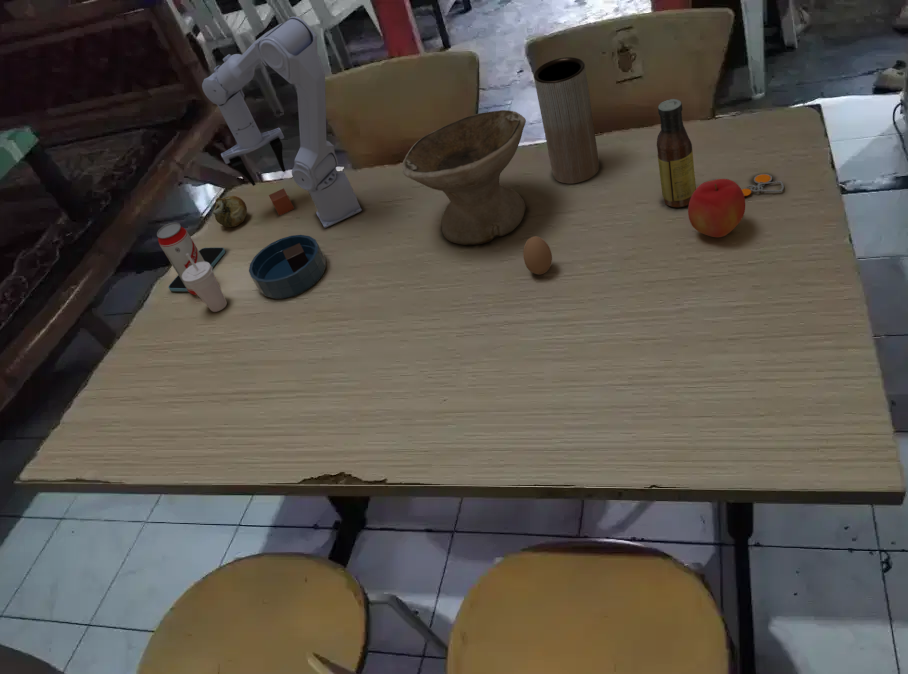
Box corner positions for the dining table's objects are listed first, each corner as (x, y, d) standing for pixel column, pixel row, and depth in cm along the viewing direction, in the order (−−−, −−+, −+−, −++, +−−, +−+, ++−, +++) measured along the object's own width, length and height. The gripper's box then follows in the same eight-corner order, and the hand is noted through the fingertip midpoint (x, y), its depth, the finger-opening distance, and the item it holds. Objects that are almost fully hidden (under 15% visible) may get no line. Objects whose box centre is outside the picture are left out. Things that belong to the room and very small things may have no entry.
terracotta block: (290, 201, 181) (283, 188, 178) (294, 208, 178) (287, 194, 175) (275, 208, 180) (268, 195, 177) (279, 215, 177) (272, 202, 174)
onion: (255, 221, 178) (239, 194, 173) (224, 236, 177) (208, 209, 172) (248, 209, 184) (233, 181, 178) (219, 223, 182) (202, 196, 177)
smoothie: (225, 315, 154) (191, 263, 144) (199, 316, 156) (164, 265, 146) (237, 294, 158) (204, 243, 148) (212, 296, 160) (178, 245, 150)
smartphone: (225, 247, 172) (191, 288, 162) (227, 251, 172) (193, 292, 163) (201, 247, 174) (166, 288, 165) (203, 251, 175) (168, 292, 166)
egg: (535, 284, 135) (527, 250, 130) (522, 271, 139) (514, 238, 133) (560, 272, 136) (552, 238, 130) (546, 259, 140) (538, 225, 134)
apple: (756, 234, 129) (757, 185, 122) (708, 255, 129) (707, 208, 122) (724, 209, 136) (724, 162, 129) (679, 229, 136) (676, 183, 129)
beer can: (222, 279, 164) (188, 221, 152) (207, 298, 160) (172, 240, 149) (200, 278, 166) (165, 220, 155) (184, 296, 162) (148, 238, 151)
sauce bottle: (701, 192, 142) (697, 95, 128) (689, 211, 139) (684, 114, 125) (668, 188, 145) (661, 94, 131) (656, 207, 142) (647, 112, 128)
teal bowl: (316, 244, 164) (307, 225, 161) (335, 277, 153) (325, 259, 150) (253, 274, 162) (243, 256, 159) (267, 310, 151) (256, 292, 148)
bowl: (518, 170, 164) (498, 85, 150) (563, 224, 146) (545, 133, 132) (412, 213, 163) (382, 132, 149) (444, 273, 145) (414, 187, 131)
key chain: (782, 173, 139) (782, 169, 138) (784, 196, 134) (784, 192, 134) (711, 179, 143) (711, 175, 143) (711, 201, 139) (710, 197, 138)
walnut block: (306, 257, 160) (299, 242, 158) (311, 266, 157) (303, 251, 155) (290, 265, 160) (282, 250, 157) (294, 274, 157) (286, 259, 154)
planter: (595, 153, 160) (580, 51, 145) (603, 177, 153) (588, 73, 138) (550, 165, 162) (530, 65, 146) (556, 189, 155) (536, 87, 139)
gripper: (268, 105, 167) (292, 157, 176) (209, 131, 165) (237, 183, 175) (274, 115, 162) (299, 169, 171) (213, 142, 160) (242, 195, 170)
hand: (268, 176), depth 173 cm, fingers open, 7 cm apart
